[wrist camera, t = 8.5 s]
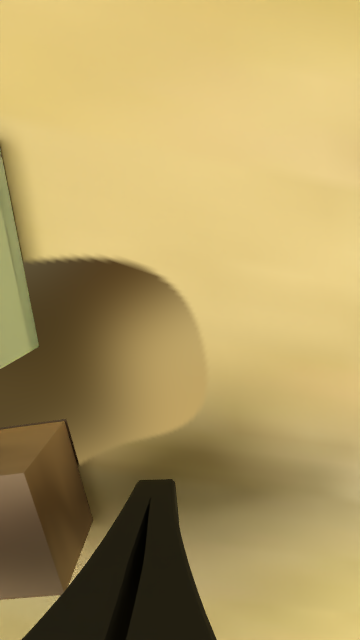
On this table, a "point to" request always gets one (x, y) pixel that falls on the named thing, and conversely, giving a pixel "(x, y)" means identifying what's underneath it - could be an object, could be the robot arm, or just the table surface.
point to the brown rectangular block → (40, 510)
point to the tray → (13, 287)
